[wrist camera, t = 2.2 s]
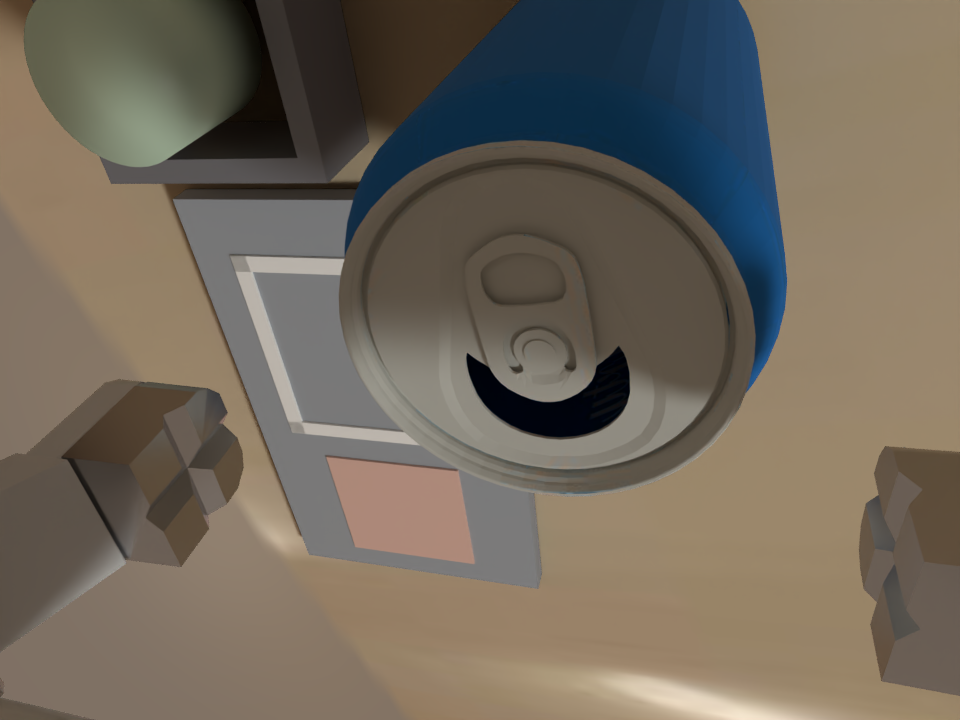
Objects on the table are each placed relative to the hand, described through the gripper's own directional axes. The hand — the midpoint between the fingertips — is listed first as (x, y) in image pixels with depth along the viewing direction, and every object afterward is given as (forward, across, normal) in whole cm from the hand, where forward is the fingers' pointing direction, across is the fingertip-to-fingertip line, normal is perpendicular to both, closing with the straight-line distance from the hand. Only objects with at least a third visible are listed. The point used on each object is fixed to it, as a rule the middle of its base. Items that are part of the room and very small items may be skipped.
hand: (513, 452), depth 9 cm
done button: (+11, +11, -3) cm, 16 cm away
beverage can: (+14, 0, -1) cm, 14 cm away
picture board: (+14, +9, +11) cm, 20 cm away
